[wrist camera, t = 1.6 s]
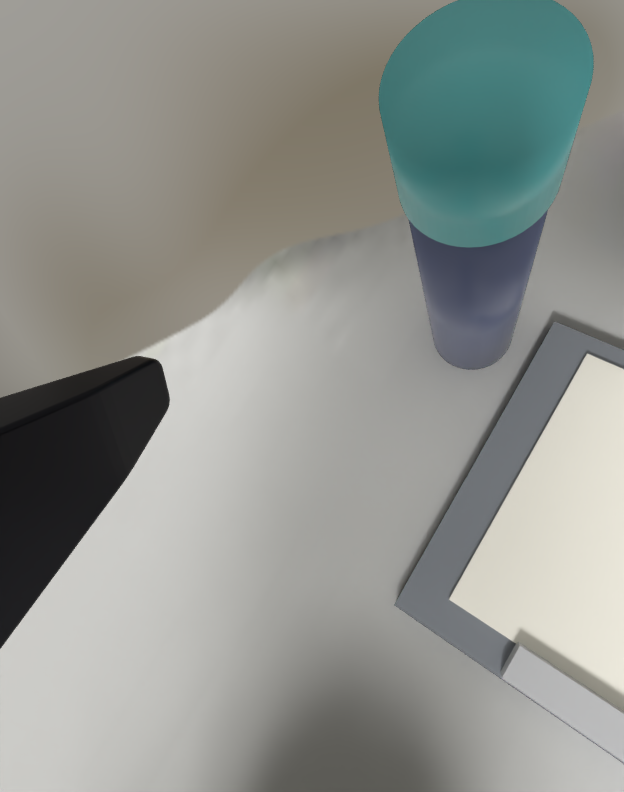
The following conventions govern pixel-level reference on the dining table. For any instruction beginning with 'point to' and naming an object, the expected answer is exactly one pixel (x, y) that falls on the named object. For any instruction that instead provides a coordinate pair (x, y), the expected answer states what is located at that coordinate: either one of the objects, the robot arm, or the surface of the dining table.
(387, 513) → the dining table surface
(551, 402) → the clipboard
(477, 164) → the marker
